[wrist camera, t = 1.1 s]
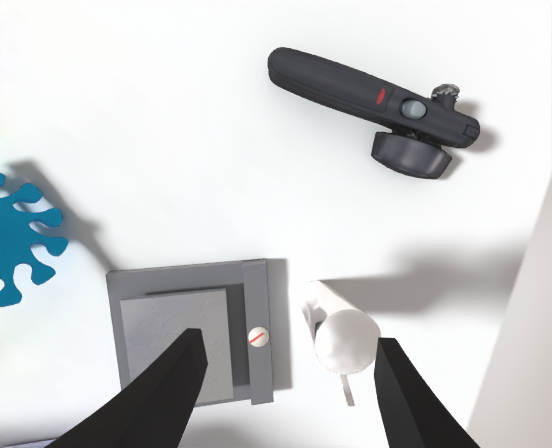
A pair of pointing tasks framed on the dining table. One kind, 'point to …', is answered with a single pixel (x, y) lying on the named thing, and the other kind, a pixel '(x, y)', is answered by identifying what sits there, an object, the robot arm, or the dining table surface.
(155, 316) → the scale pan
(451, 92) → the can opener
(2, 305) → the gear
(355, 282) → the dining table surface
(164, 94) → the dining table surface
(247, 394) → the scale base
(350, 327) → the milkshake
